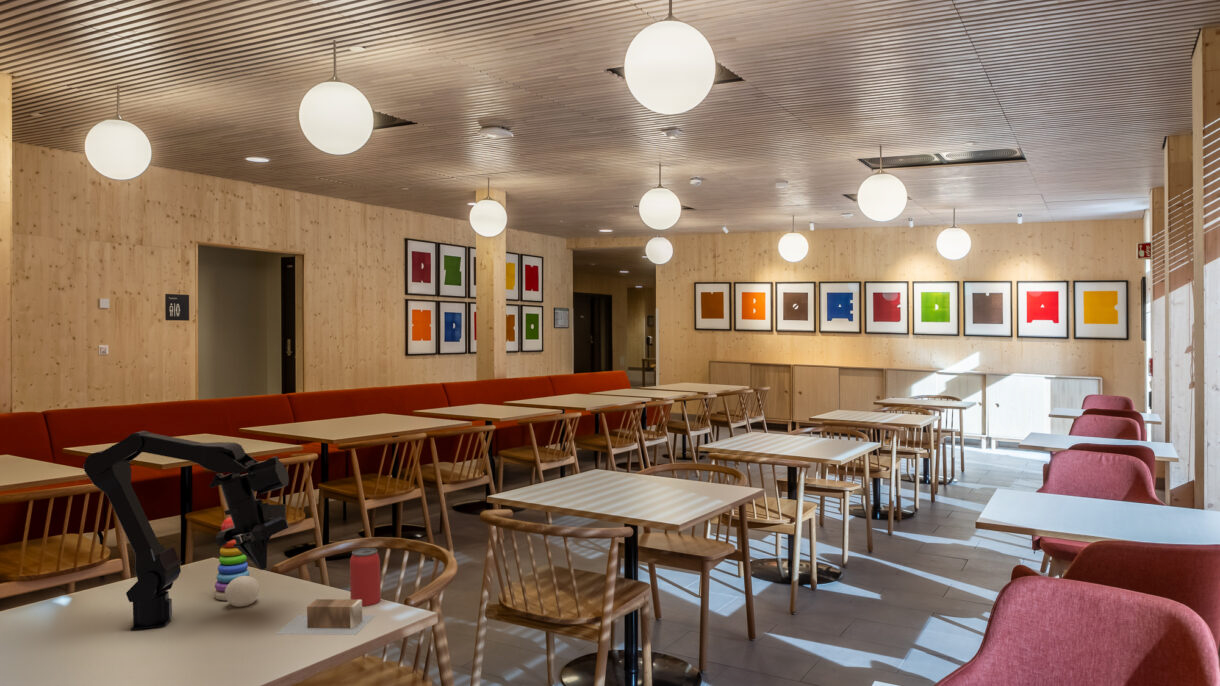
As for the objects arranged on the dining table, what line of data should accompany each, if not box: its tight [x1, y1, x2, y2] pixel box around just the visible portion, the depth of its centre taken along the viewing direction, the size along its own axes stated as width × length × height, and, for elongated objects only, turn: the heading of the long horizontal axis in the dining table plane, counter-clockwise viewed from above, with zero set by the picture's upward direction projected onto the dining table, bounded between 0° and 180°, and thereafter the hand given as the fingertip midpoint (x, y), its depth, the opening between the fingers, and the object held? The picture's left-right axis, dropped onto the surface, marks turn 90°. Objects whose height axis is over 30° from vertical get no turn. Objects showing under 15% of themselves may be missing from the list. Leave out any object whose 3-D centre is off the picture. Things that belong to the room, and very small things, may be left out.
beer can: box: [349, 547, 382, 608], centre depth 184 cm, size 7×7×12 cm
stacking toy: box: [213, 516, 250, 601], centre depth 191 cm, size 8×8×19 cm
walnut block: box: [306, 598, 363, 628], centre depth 170 cm, size 4×4×10 cm
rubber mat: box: [275, 614, 376, 636], centre depth 170 cm, size 17×11×1 cm, turn 86°
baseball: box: [225, 575, 260, 608], centre depth 184 cm, size 7×7×7 cm
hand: (263, 568), depth 174 cm, fingers closed
